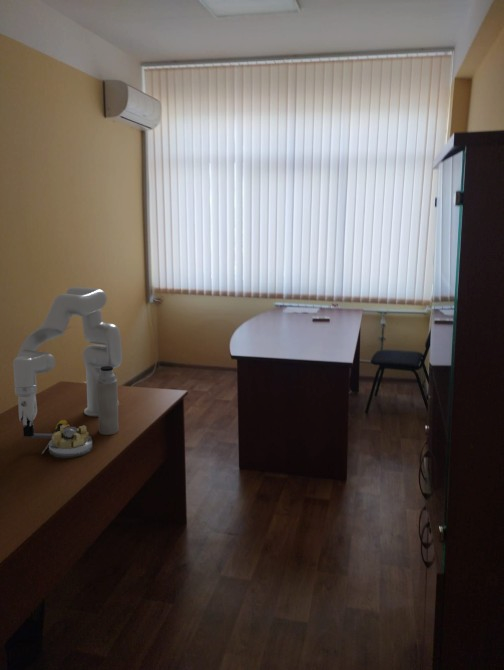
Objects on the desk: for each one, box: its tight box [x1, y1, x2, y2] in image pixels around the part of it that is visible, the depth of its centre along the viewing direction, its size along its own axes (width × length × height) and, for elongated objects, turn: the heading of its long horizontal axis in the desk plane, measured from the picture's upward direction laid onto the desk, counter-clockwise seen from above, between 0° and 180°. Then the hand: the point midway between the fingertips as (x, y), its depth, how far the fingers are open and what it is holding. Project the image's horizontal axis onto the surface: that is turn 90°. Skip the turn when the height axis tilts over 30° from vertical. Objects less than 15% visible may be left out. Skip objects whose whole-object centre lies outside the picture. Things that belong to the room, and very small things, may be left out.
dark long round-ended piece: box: [26, 423, 90, 448], centre depth 207 cm, size 23×13×6 cm, turn 91°
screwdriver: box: [40, 419, 69, 456], centre depth 215 cm, size 3×3×30 cm
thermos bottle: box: [97, 366, 120, 436], centre depth 223 cm, size 8×8×28 cm
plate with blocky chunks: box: [48, 423, 93, 459], centre depth 208 cm, size 16×18×8 cm
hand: (28, 435), depth 203 cm, fingers closed
